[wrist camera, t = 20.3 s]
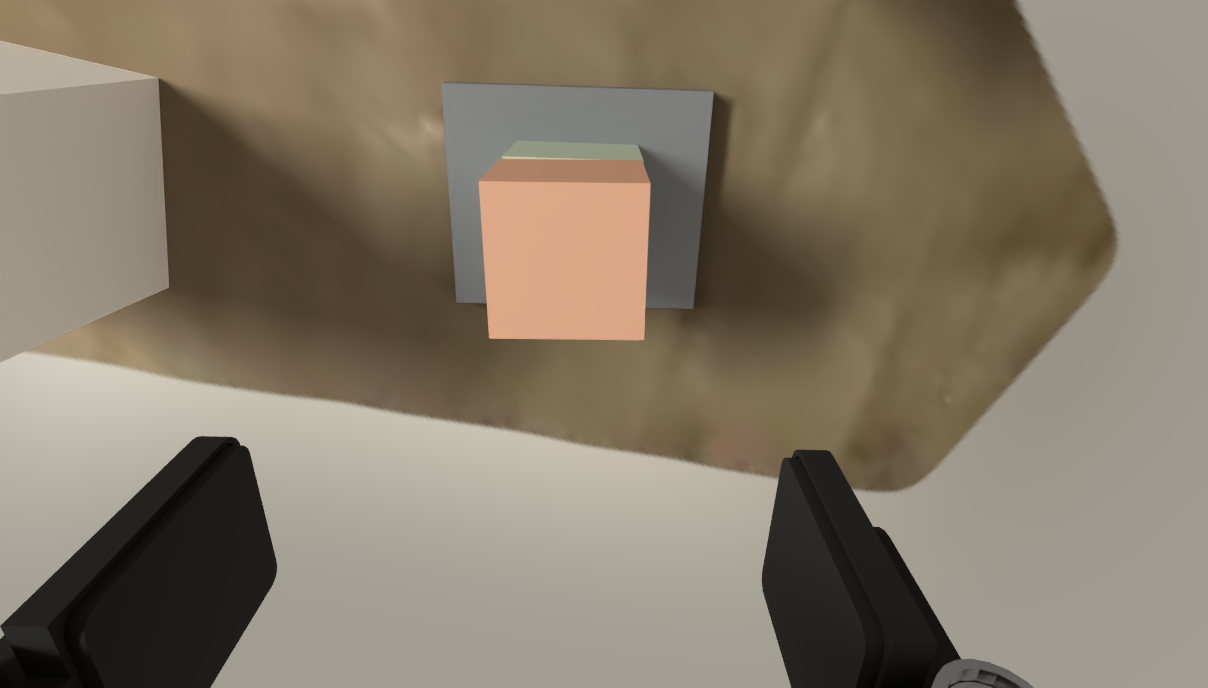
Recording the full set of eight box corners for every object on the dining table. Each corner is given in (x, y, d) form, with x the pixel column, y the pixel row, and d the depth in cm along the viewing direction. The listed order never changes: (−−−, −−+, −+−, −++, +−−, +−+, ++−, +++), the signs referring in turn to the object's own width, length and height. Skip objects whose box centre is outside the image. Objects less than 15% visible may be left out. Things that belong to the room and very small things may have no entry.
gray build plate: (446, 81, 34) (441, 82, 33) (710, 90, 34) (713, 91, 33) (460, 295, 39) (456, 302, 38) (690, 301, 39) (693, 308, 38)
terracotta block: (500, 158, 29) (478, 181, 24) (642, 160, 29) (650, 183, 24) (507, 292, 32) (489, 338, 26) (637, 293, 32) (643, 340, 27)
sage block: (517, 140, 34) (502, 156, 29) (637, 144, 34) (644, 161, 29) (519, 257, 37) (506, 290, 32) (631, 260, 37) (636, 294, 32)
